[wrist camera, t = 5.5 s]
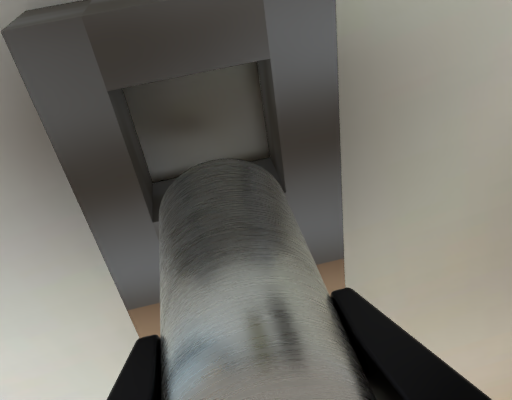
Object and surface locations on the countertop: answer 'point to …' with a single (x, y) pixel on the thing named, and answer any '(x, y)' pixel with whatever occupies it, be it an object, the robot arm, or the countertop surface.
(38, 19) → the pin dock plate
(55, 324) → the countertop surface
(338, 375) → the lock pin
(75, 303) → the countertop surface
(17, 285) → the countertop surface
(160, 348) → the robot arm
